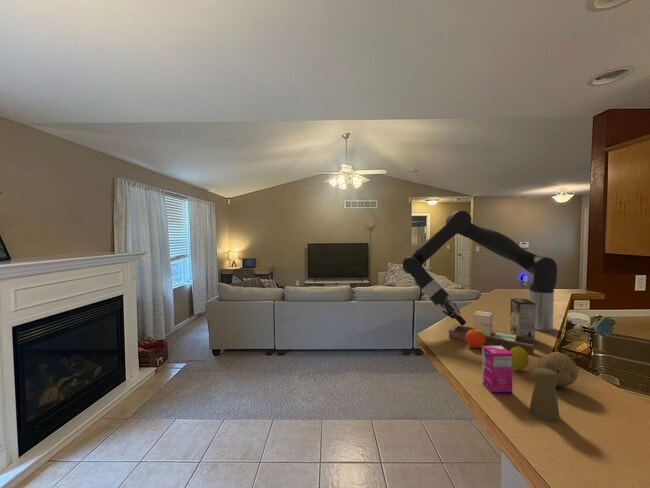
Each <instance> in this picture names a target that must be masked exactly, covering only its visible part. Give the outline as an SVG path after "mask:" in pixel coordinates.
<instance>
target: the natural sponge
mask: <svg viewBox="0 0 650 488" xmlns="http://www.w3.org/2000/svg"><path fill="white" fill-rule="evenodd" d="M538 368H546V369H550V370H552V371H554V372H555V373H556V374H557V376H558V378H559V380H558V384H557V385H556V388H559V389H561V388H565V387H567V386H571V385H572V384H573V383H575V382H576V381H577V379H578V377H579V368H578V366H577V364H576V362H575V361H574V360H573V358H571V357H570V356H569V355H567V354H565V353H562V352H559V351H553V352H550V353H547V354H546V355H545V356H543V358H542V359H541V361H540V363H539V364H538Z"/></svg>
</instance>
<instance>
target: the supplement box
mask: <svg viewBox="0 0 650 488" xmlns="http://www.w3.org/2000/svg"><path fill="white" fill-rule="evenodd" d="M481 350H482V355H481V356H482V357H481V359H482V364H481V366H482V368H481V369H482V371H481V372H482V373H481V374H482V375H481V376H482V377H481V380H482V385H483V386H485V388H487V390H489V392H490V393H491V394H495V395H497V394H498V395H500V394H501V395H504V394H505V395H506V394H507V395H513V367H512V353H511V352H509V351H510V350H509V349H505V348H504V347H502V346H489V345H483V346H482V347H481Z"/></svg>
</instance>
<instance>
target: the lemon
mask: <svg viewBox="0 0 650 488" xmlns="http://www.w3.org/2000/svg"><path fill="white" fill-rule="evenodd" d="M508 351H509V352H511V353H512V368H514V369H515V370H516V371H518V372H519V371H521V370H525V369H526V368H527V367H528V366H529V361H530V358H529V353H527V352H526V351H525V350H524V349H523V348H521V347H520V346H517V347H513V348H512V349H511V350H510V349H509V350H508Z"/></svg>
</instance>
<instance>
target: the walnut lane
mask: <svg viewBox="0 0 650 488" xmlns="http://www.w3.org/2000/svg"><path fill="white" fill-rule="evenodd" d="M471 329H474V326H468V325H467V326H466V325H463V326H462V325H461V324H454V325H453V326H452V327H451V328H449V330H448V338H449V339H453V340H458V341H463V342H466V339H465V336H466V333H467V332H468V331H469V330H471ZM484 336H485V343H484V345H483V346H502V347H504V348H505V349H507V350H509V351H510V350H511V349H512V348H513V347H517V346H520V347H521V348H523V349H524V350H525V351H526V352H527V354H531V355H535V353H534V351H535V350H534V349H535V348H534V347H535V346H536V345H535V337H529V336H523V335H516V334H510V332H505V331H504V332H503V331H498V330H497V331H496V330H492V333H491V335H490V336H486V335H484ZM487 337H488V338H487Z"/></svg>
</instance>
